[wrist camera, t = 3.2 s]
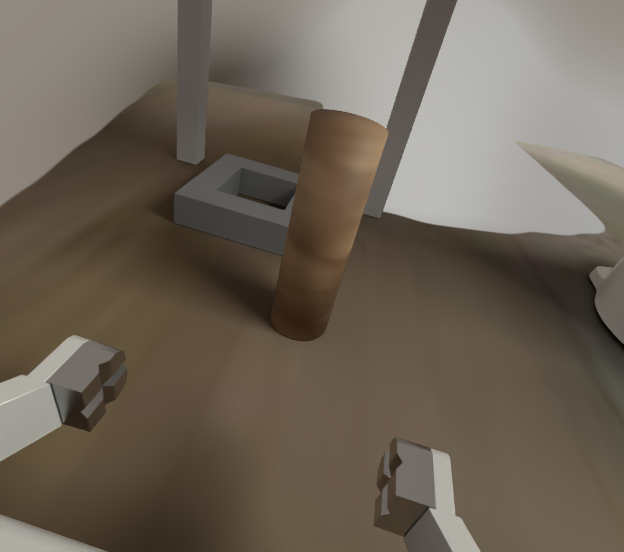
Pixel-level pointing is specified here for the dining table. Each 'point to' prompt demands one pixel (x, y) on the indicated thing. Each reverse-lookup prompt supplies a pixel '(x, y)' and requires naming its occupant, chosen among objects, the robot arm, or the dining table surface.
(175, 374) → the dining table surface
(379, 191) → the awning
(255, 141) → the dining table surface
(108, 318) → the dining table surface
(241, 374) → the dining table surface
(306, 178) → the peg
